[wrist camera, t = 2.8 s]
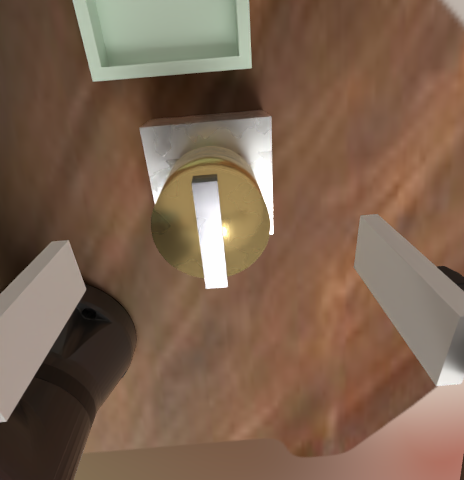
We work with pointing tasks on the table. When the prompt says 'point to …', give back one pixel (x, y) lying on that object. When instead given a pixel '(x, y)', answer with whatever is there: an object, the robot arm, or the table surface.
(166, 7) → the tray
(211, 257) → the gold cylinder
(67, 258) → the robot arm
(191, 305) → the table surface
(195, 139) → the silver square block
